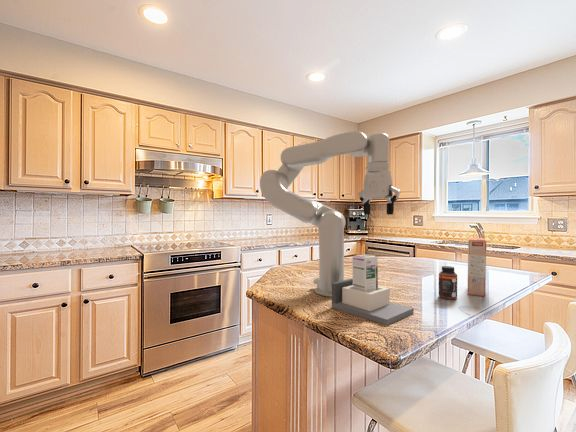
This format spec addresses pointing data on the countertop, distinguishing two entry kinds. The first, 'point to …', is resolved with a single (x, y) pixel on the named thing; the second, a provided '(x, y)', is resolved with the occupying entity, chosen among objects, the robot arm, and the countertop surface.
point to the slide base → (379, 315)
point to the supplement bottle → (448, 283)
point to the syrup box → (365, 273)
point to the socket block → (366, 298)
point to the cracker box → (477, 266)
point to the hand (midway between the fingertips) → (378, 214)
